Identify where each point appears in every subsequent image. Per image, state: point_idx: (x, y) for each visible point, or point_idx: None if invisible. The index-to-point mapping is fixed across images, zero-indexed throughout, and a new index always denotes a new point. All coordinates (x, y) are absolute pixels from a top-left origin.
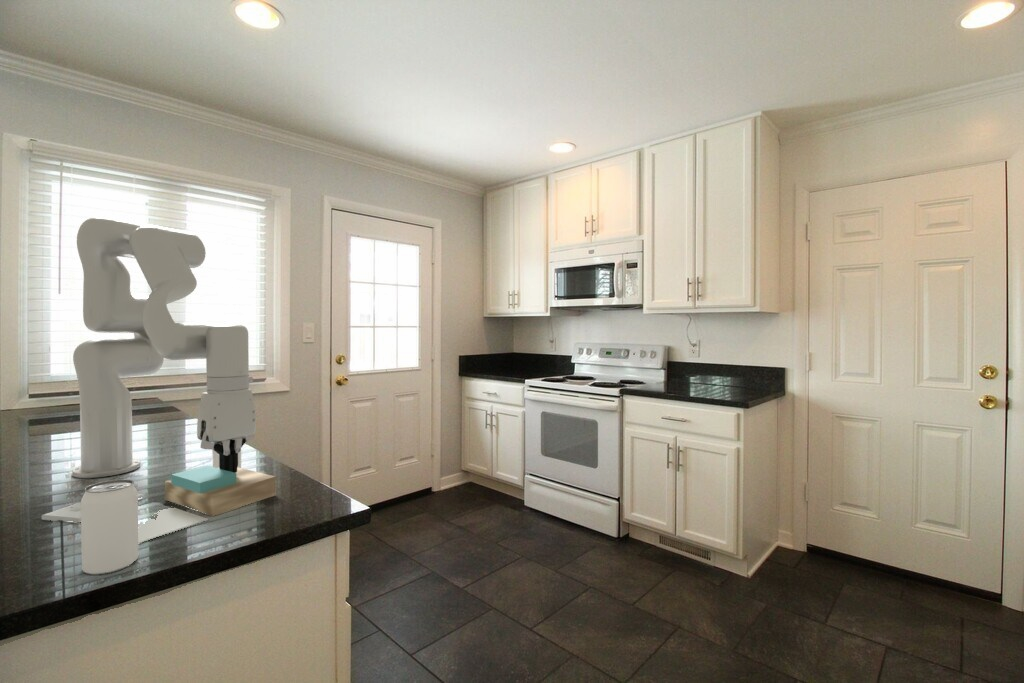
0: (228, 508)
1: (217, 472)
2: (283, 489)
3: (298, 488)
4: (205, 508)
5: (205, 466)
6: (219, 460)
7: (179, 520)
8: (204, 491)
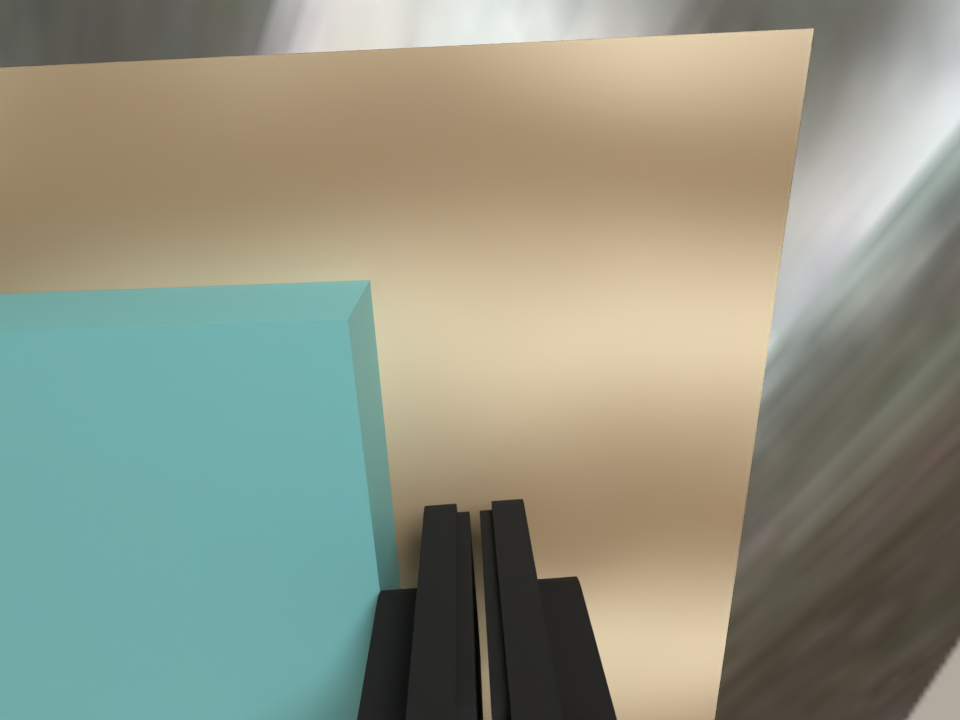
0: None
1: (290, 695)
2: (766, 598)
3: (822, 650)
4: None
5: (301, 346)
6: (363, 690)
7: None
8: None
